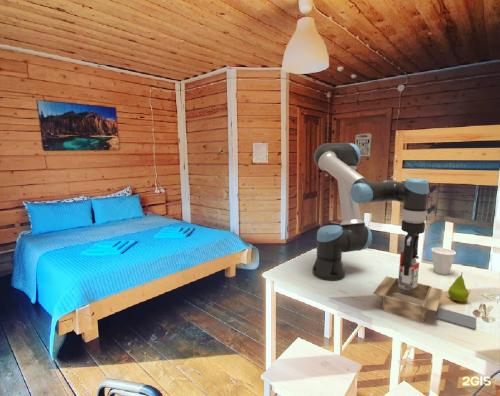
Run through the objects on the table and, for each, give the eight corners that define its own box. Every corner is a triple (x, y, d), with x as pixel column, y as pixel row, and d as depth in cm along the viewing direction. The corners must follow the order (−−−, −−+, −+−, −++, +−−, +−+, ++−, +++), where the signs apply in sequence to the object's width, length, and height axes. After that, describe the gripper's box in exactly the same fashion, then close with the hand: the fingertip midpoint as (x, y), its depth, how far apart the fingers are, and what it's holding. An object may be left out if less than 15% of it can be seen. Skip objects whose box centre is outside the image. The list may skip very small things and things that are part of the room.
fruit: (446, 300, 115) (449, 272, 113) (449, 294, 119) (451, 267, 118) (466, 306, 111) (469, 276, 109) (468, 299, 115) (471, 271, 113)
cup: (458, 274, 139) (460, 252, 137) (445, 278, 134) (448, 255, 132) (437, 266, 147) (439, 246, 146) (424, 270, 143) (426, 249, 141)
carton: (372, 307, 111) (373, 292, 110) (385, 288, 126) (386, 275, 125) (434, 326, 98) (436, 310, 97) (441, 303, 113) (442, 288, 112)
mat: (436, 318, 103) (436, 317, 103) (438, 309, 109) (439, 307, 109) (475, 330, 96) (475, 328, 96) (475, 319, 102) (476, 317, 102)
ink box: (417, 286, 112) (421, 250, 109) (406, 292, 108) (410, 255, 105) (408, 283, 115) (411, 248, 112) (397, 288, 111) (400, 252, 108)
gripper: (420, 229, 96) (414, 292, 100) (429, 216, 112) (424, 271, 116) (395, 225, 101) (390, 286, 105) (408, 213, 117) (403, 266, 121)
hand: (408, 278), depth 111 cm, fingers closed on ink box, 8 cm apart
